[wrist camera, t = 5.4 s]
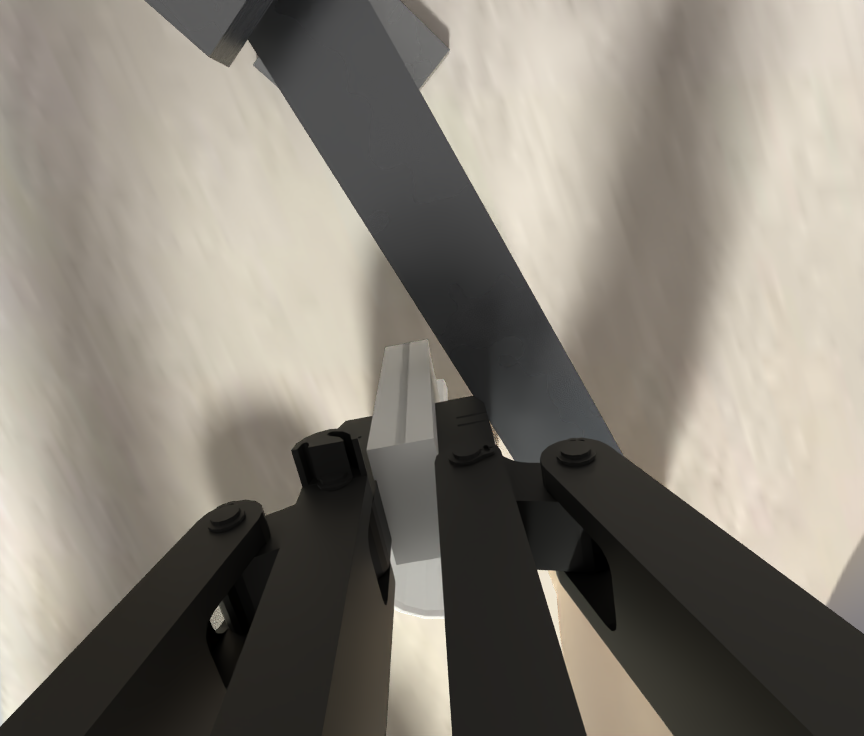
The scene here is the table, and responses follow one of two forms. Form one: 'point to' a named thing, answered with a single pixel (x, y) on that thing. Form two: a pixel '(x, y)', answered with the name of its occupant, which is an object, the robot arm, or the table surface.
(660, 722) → the water bottle
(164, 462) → the table surface
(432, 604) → the mug
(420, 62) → the post
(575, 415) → the bar
